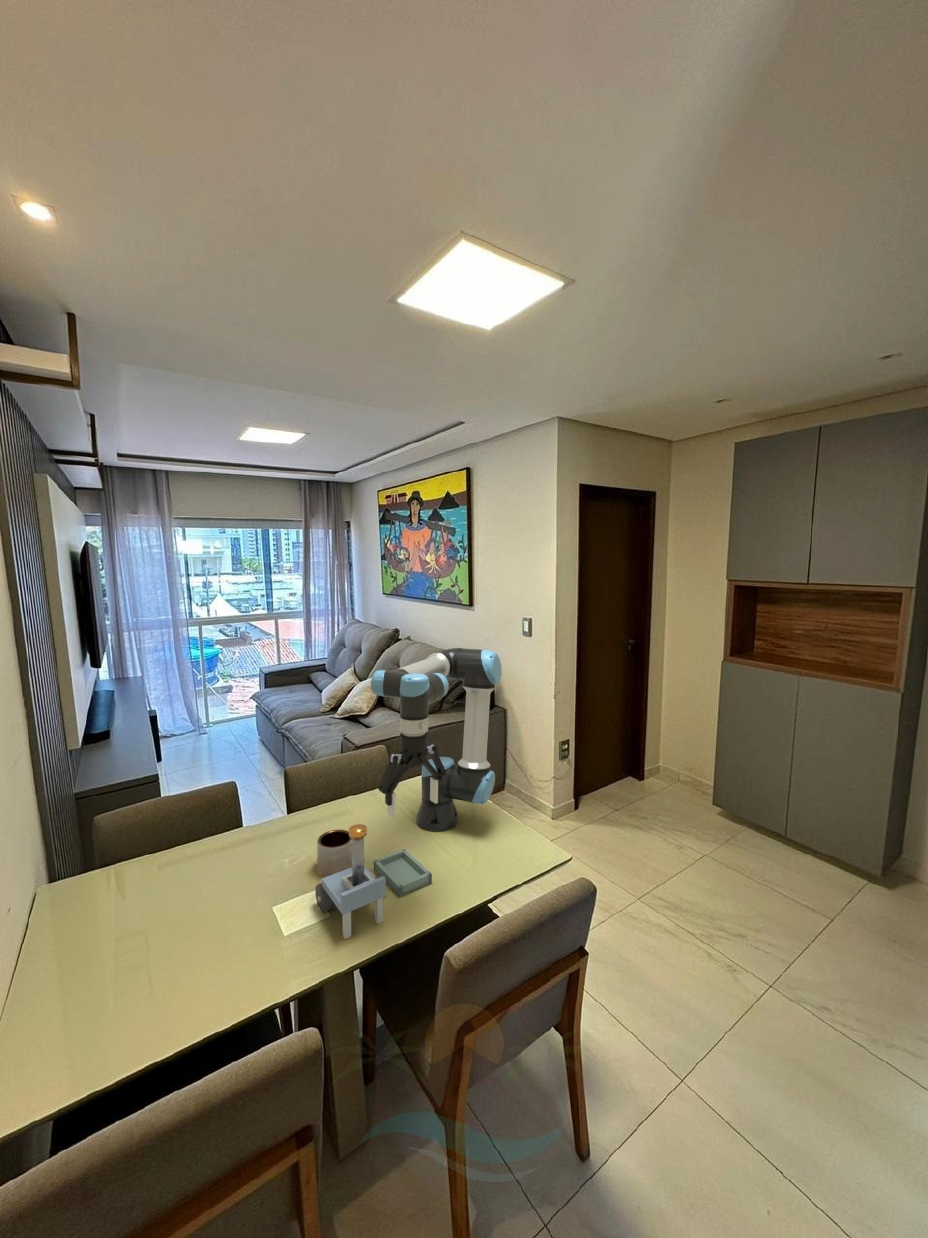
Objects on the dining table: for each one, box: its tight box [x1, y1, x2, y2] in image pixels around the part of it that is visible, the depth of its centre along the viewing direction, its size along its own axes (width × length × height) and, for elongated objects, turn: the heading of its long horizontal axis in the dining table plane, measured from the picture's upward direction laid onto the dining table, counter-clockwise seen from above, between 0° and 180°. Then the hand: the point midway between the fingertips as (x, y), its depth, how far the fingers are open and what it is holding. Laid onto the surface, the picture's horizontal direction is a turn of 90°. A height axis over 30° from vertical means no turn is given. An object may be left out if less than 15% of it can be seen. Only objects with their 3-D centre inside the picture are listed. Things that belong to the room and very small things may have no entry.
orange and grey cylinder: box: [348, 823, 368, 887], centre depth 130 cm, size 5×5×16 cm
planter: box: [316, 829, 352, 877], centre depth 153 cm, size 11×11×10 cm
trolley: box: [314, 865, 387, 940], centre depth 133 cm, size 18×14×12 cm
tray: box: [373, 848, 433, 898], centre depth 149 cm, size 16×11×3 cm
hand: (413, 808), depth 133 cm, fingers open, 13 cm apart
